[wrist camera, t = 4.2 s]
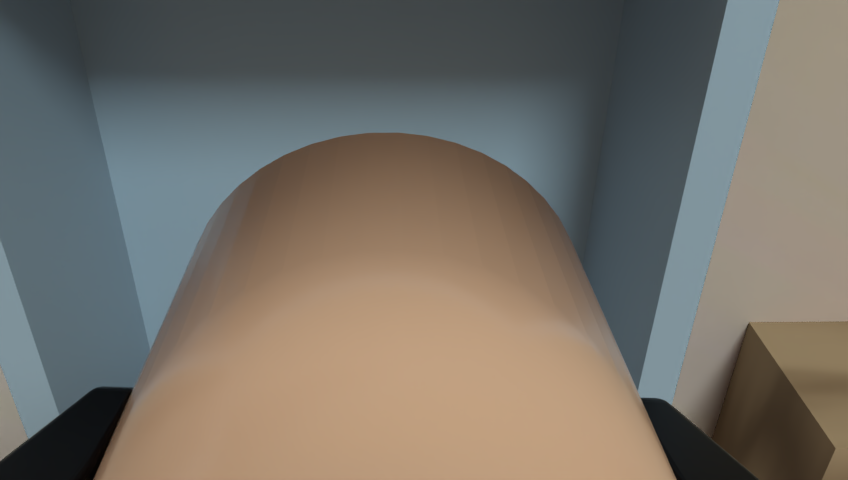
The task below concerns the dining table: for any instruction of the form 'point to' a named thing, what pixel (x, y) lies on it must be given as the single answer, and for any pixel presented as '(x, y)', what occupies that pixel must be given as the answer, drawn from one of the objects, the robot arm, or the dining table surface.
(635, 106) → the tote
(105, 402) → the robot arm
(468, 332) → the brown egg
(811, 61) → the dining table surface
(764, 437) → the walnut cube
